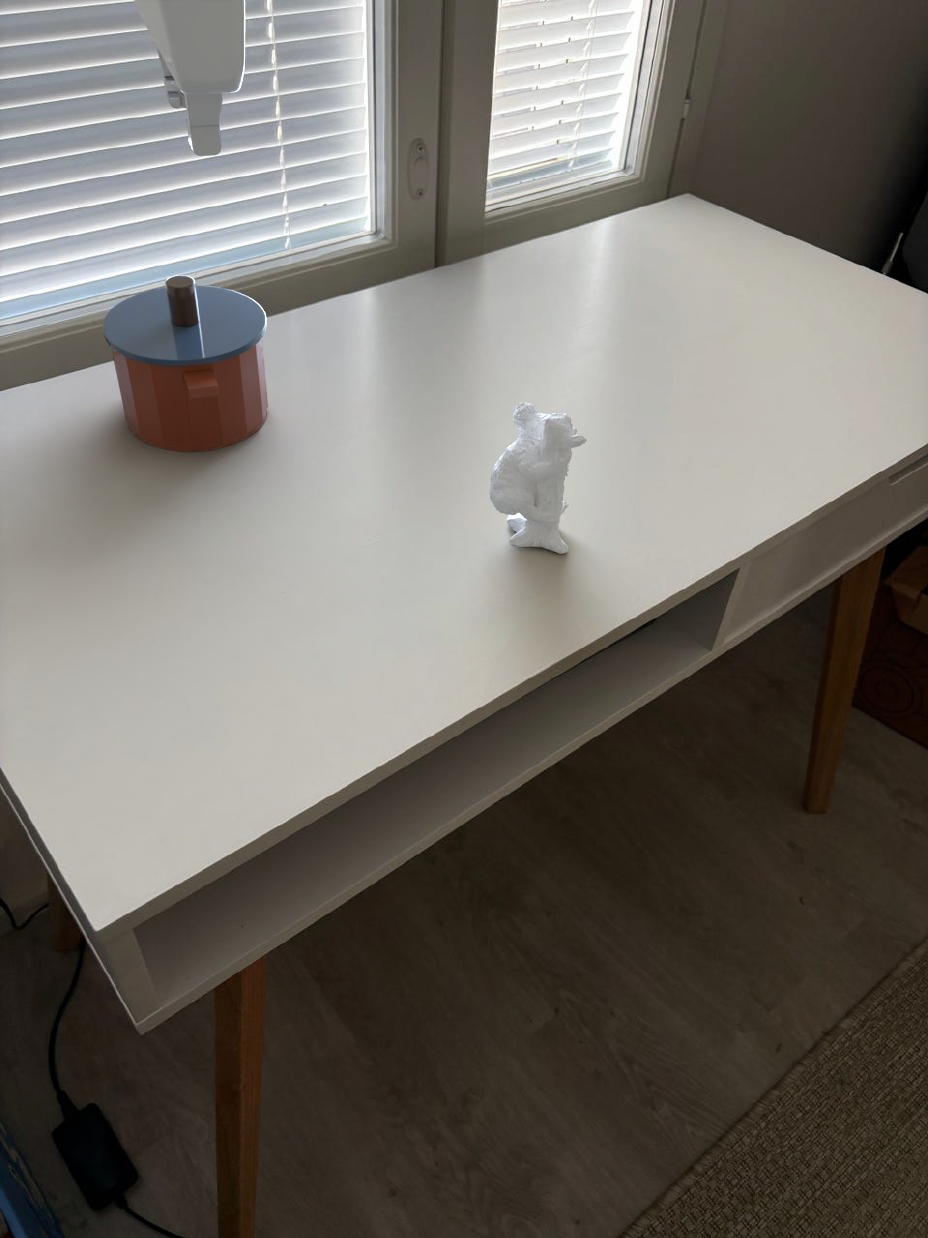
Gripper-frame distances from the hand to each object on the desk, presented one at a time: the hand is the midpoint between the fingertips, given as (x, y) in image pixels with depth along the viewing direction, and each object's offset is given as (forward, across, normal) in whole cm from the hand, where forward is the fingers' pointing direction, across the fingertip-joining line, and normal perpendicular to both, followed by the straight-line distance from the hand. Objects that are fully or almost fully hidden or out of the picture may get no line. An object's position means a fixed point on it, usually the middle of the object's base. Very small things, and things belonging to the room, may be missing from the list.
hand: (192, 127), depth 67 cm
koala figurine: (+28, +14, +22) cm, 38 cm away
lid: (+19, -11, -1) cm, 22 cm away
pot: (+28, -11, -1) cm, 30 cm away
